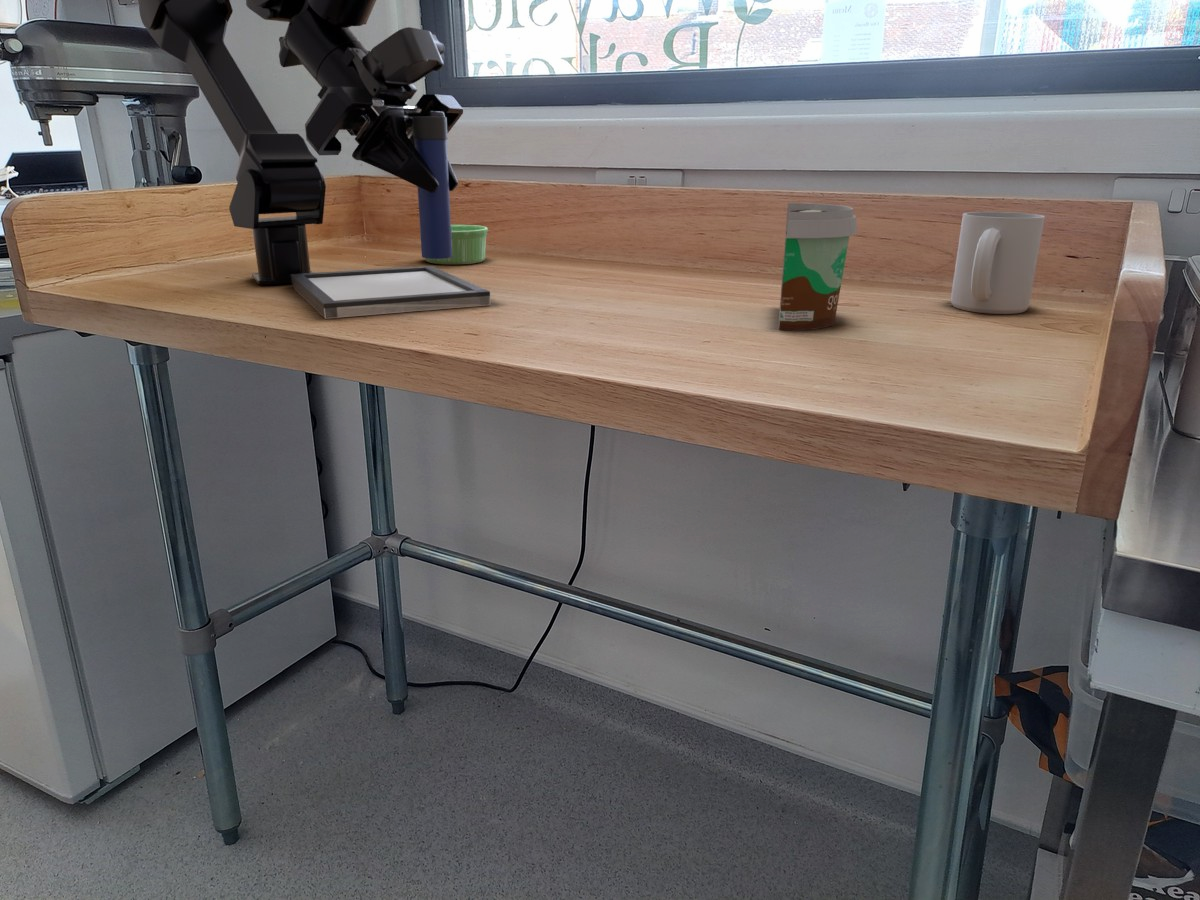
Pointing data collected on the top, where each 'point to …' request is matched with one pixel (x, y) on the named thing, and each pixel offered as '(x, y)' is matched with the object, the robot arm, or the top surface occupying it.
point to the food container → (814, 264)
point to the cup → (996, 261)
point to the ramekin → (465, 245)
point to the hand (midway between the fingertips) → (445, 188)
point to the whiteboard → (386, 291)
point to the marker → (436, 205)
